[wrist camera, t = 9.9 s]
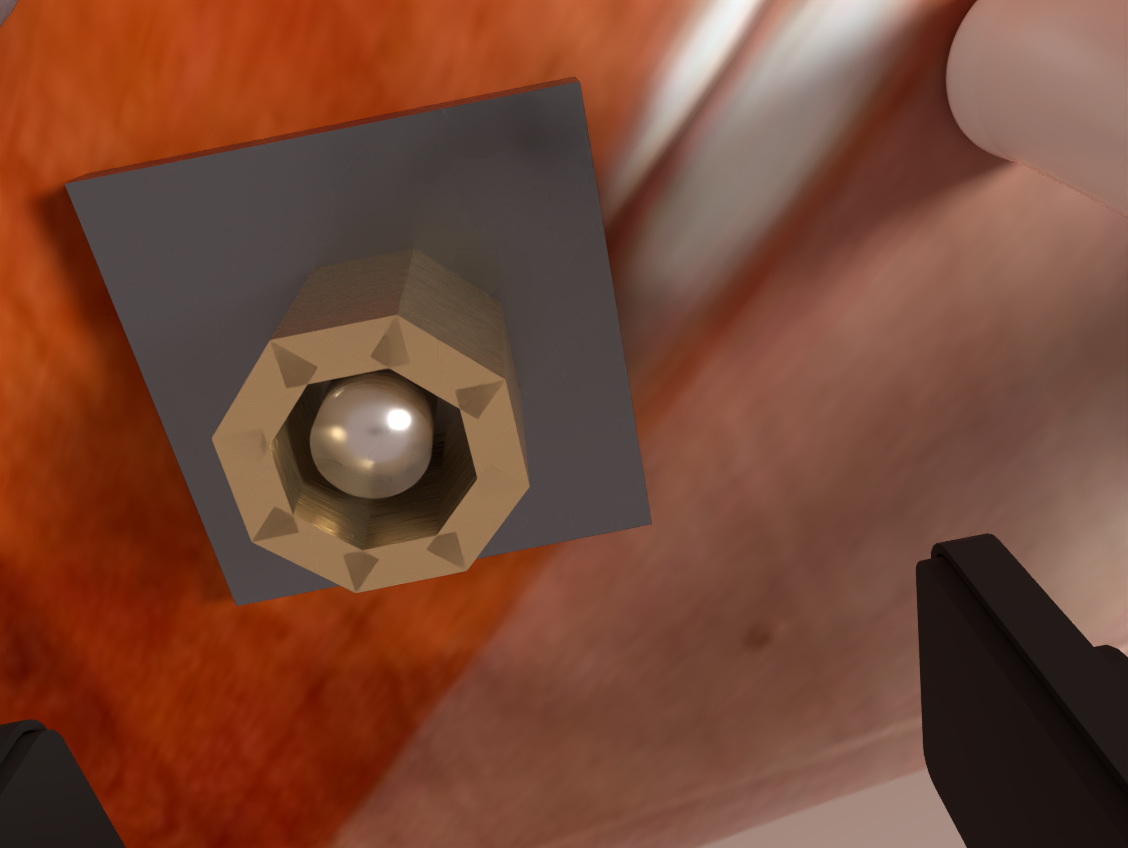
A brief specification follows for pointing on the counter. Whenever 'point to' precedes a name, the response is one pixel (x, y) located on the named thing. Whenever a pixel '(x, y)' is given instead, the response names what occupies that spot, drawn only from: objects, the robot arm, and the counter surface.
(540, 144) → the shaft block
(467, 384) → the hub ring
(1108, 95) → the drinking glass
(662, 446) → the counter surface
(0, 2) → the pillar candle
